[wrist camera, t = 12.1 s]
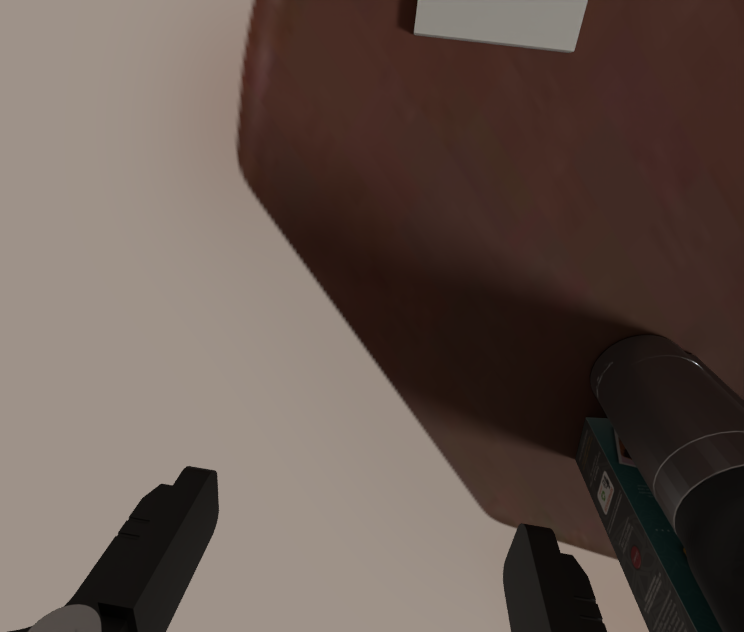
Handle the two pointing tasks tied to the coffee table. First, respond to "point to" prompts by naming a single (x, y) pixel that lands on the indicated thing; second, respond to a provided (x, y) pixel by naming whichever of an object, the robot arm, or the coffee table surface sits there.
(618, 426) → the robot arm
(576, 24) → the socket
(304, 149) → the coffee table surface
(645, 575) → the cake mix box
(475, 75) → the coffee table surface
